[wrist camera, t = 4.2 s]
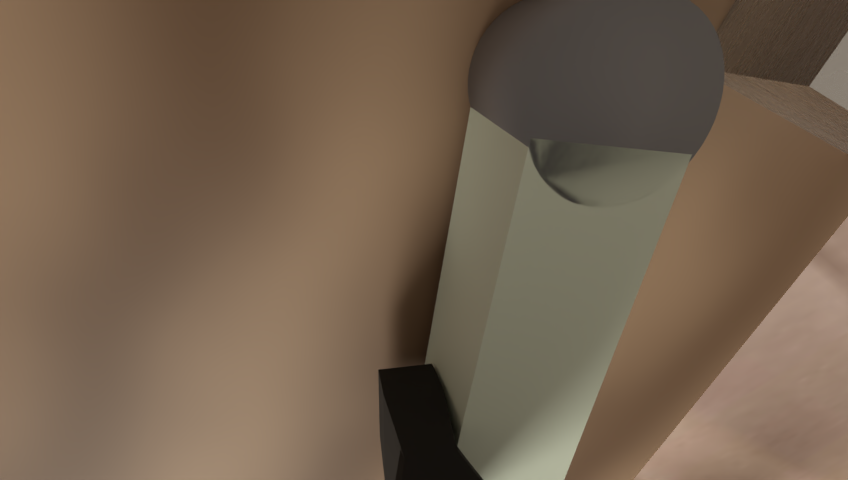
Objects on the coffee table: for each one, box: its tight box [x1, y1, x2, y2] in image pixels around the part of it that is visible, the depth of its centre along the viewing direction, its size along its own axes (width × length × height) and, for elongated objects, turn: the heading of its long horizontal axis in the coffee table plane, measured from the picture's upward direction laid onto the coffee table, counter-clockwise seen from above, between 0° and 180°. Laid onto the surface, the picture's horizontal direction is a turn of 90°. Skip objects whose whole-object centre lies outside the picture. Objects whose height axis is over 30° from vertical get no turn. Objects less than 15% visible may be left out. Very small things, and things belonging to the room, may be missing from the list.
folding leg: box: [425, 0, 724, 480], centre depth 9 cm, size 11×3×3 cm, turn 172°
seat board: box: [0, 0, 848, 480], centre depth 12 cm, size 19×21×2 cm
